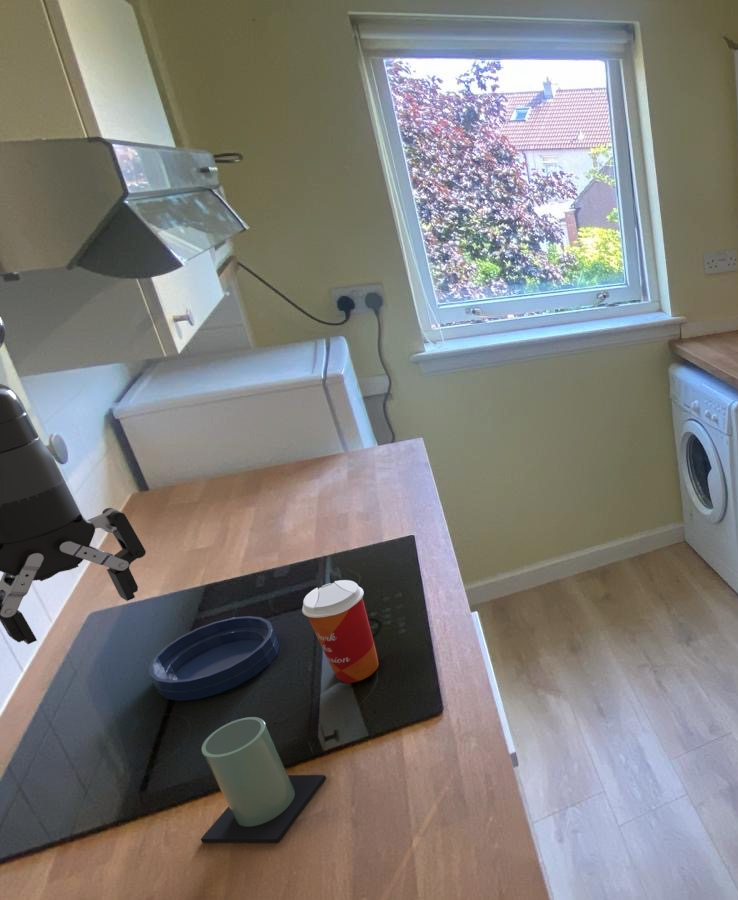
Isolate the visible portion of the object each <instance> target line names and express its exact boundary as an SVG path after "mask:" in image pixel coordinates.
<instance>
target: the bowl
mask: <svg viewBox="0 0 738 900" xmlns="http://www.w3.org/2000/svg"><path fill="white" fill-rule="evenodd" d="M279 649H280V643H279V640H278V638H277V635H276V633H275V630H274V628H273V626H272V623H271V621H269V620H267V619H265V618H263V617H261V616H254V615H253V616H252V615H246V616H245V615H244V616H236V617H229V618H226V619H225V618H224V619H221V620H217V621H213V622H211V623H208V624H205V625H202V626H200V627H197V628H195V629H193V630H191V631H189V632H186V633H185V634H183V635H181V636H179V637H177V638H175V639H174V640H173V641H172V642H170V643H168V644H167V645H166V646H164V647H163V648H162V649H161V650H160V651H159V652H158V653H157V654H156V655H154V657H153V658H152V661H151V662H150V663H149V666H148V673H149V677H150V679H151V681H152V683H153V685H154V687H155V689H156V691H157V693H158V695H161V696H162V697H163V698H164V699H166V700H170V701H176V702H187V701H194V700H195V701H196V700H201V699H204V698H208V697H212V696H216V695H219V694H222V693H224V692H226V691H227V692H228V691H229V690H231V689H233V688H237V687H238V686H240V685H242V684H243V683H245V682H247V681H249V680H251V679H252V678H254V677H256V676H257V675H258V674H259V673H261V672H262V671H264V669H266V668H267V667H268V666H269V665H271V663H272V662H273V661H274V659H275V658H276V657H277V656H278V653H279Z"/></svg>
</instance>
